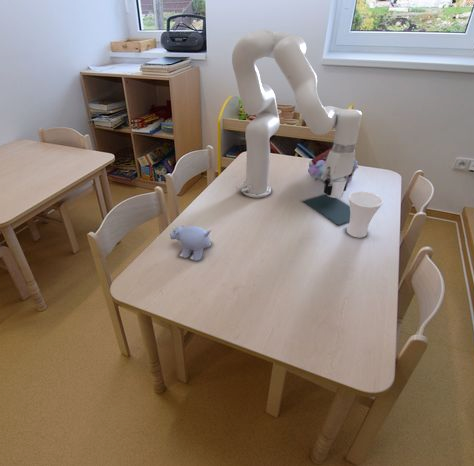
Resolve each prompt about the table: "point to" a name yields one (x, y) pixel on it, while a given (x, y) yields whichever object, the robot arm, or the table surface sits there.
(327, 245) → the table surface
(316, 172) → the pastel bubbly cloud
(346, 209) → the mat
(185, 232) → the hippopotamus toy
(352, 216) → the cup
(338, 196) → the shot glass
